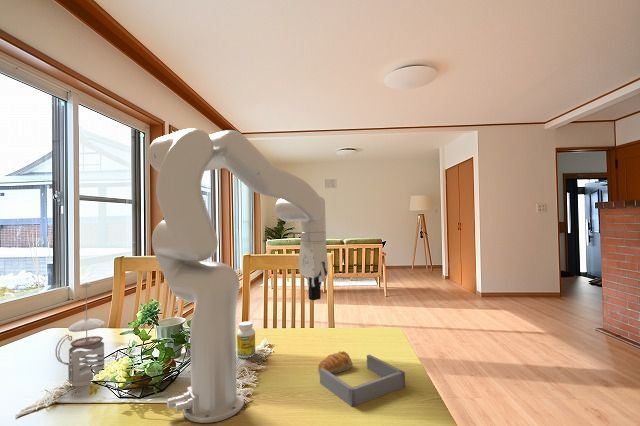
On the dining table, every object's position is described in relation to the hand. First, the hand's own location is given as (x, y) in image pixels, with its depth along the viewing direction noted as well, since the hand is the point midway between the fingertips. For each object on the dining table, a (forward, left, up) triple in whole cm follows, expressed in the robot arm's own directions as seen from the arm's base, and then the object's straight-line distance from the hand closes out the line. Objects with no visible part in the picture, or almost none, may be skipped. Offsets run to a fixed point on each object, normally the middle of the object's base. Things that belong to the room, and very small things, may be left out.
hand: (314, 299), depth 104 cm
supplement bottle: (-17, +12, -17) cm, 27 cm away
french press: (-58, +21, -17) cm, 64 cm away
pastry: (0, -11, -17) cm, 20 cm away
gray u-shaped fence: (0, -22, -17) cm, 28 cm away
